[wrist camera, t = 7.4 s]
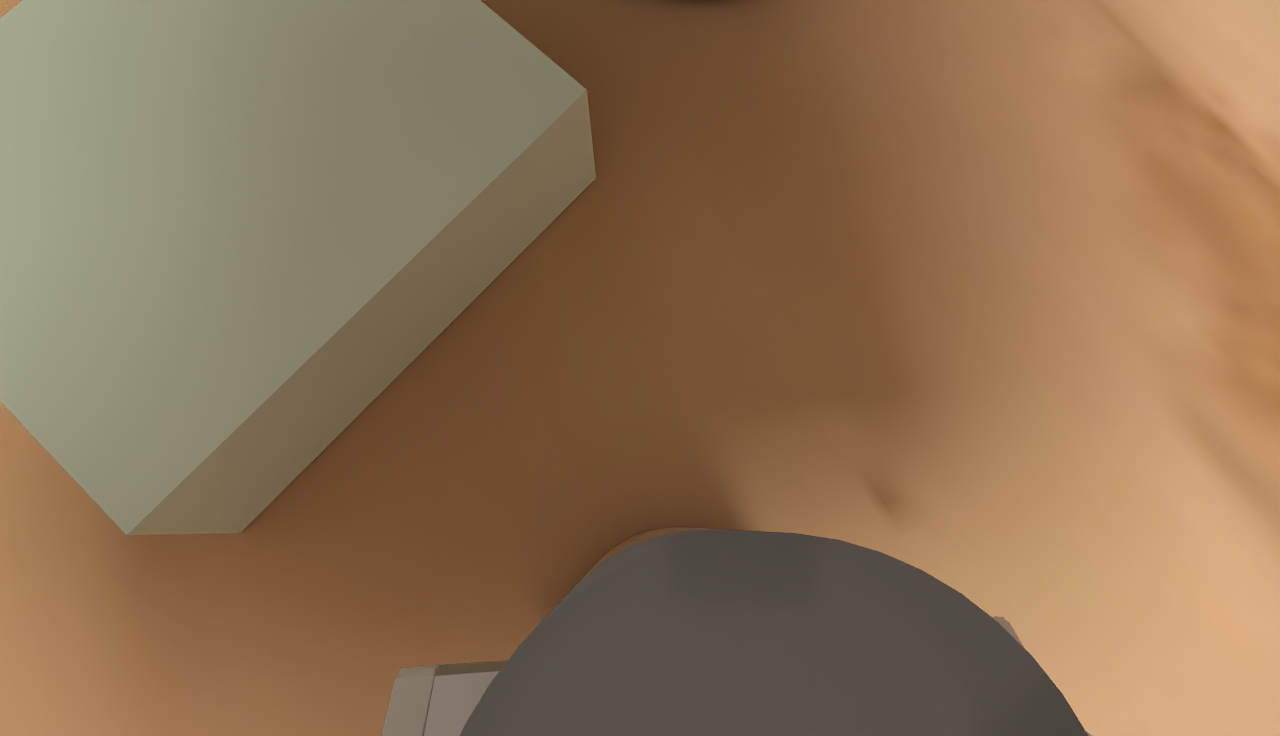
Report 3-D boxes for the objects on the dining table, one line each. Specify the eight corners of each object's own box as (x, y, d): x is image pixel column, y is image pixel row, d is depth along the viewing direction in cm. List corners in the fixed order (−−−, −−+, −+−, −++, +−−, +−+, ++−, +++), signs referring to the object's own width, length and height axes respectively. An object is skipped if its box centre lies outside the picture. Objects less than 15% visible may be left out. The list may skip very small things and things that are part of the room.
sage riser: (328, -52, 21) (257, -188, 17) (596, 178, 19) (587, 89, 15) (-29, 254, 19) (-206, 182, 15) (240, 533, 17) (126, 535, 13)
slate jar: (668, 482, 18) (742, 397, 6) (833, 632, 17) (1286, 876, 5) (520, 648, 17) (260, 935, 5) (686, 812, 16) (829, 1577, 4)
